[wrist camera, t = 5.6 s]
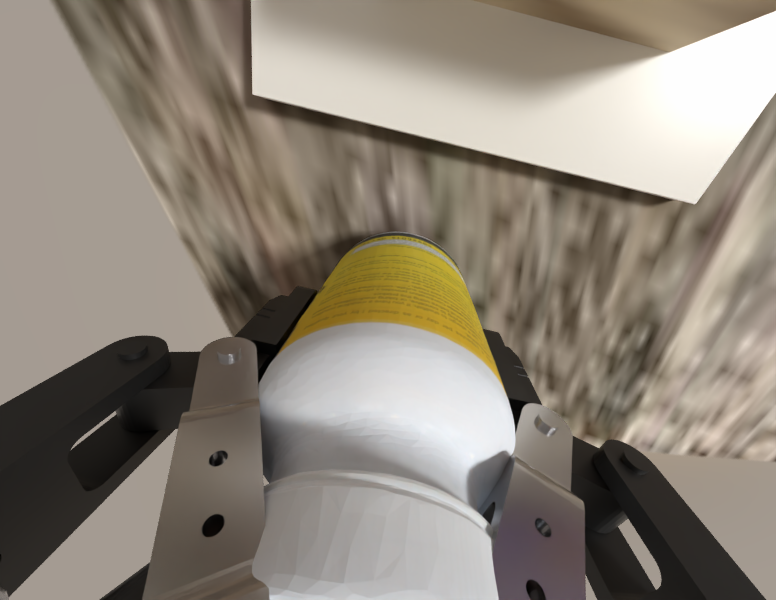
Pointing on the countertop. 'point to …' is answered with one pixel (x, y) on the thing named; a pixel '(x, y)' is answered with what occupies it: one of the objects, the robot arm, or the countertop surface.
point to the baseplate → (521, 85)
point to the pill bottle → (383, 435)
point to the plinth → (646, 17)
